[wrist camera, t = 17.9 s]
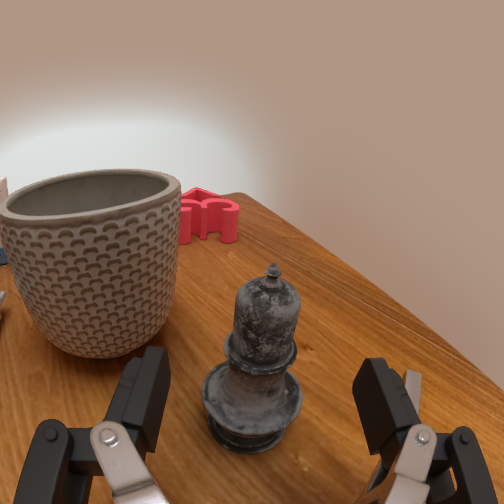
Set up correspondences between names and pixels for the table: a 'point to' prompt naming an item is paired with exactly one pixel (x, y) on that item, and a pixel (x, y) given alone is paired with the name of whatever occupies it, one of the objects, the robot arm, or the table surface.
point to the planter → (95, 256)
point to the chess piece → (256, 369)
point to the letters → (207, 216)
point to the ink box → (0, 194)
